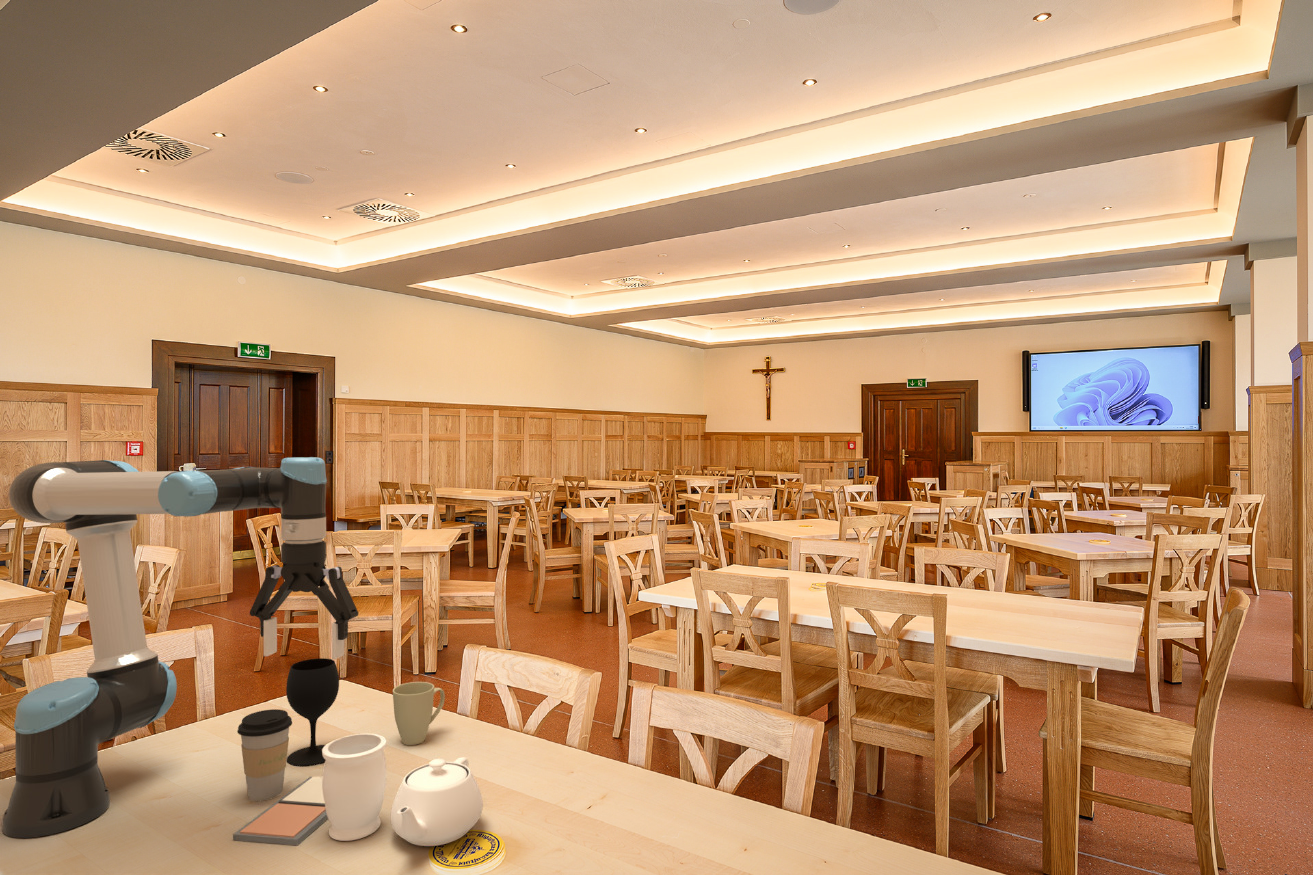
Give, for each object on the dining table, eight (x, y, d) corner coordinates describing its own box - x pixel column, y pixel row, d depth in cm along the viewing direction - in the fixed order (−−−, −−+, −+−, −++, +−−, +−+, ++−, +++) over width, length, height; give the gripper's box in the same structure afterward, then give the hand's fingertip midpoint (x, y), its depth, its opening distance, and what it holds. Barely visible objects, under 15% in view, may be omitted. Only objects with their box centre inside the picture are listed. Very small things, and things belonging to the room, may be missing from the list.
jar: (346, 852, 124) (346, 762, 124) (309, 834, 130) (309, 748, 130) (399, 823, 134) (399, 740, 133) (362, 808, 139) (362, 728, 139)
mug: (431, 749, 166) (431, 694, 166) (386, 748, 166) (386, 694, 166) (445, 729, 176) (445, 678, 176) (403, 729, 177) (403, 678, 177)
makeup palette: (232, 839, 128) (232, 831, 128) (310, 781, 150) (310, 773, 150) (297, 845, 126) (297, 836, 126) (365, 785, 148) (365, 777, 148)
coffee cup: (269, 808, 139) (269, 727, 139) (225, 803, 141) (225, 723, 141) (303, 784, 149) (302, 709, 148) (261, 780, 150) (261, 706, 150)
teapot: (427, 795, 144) (427, 732, 144) (504, 801, 142) (503, 737, 142) (353, 869, 120) (353, 793, 120) (445, 878, 117) (444, 800, 117)
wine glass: (349, 753, 163) (349, 661, 163) (304, 771, 155) (304, 674, 155) (320, 742, 169) (320, 654, 169) (276, 759, 160) (276, 666, 160)
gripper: (228, 542, 136) (228, 658, 136) (355, 544, 133) (355, 664, 133) (256, 536, 144) (256, 647, 144) (377, 539, 140) (377, 652, 140)
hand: (304, 655), depth 138 cm, fingers open, 13 cm apart
